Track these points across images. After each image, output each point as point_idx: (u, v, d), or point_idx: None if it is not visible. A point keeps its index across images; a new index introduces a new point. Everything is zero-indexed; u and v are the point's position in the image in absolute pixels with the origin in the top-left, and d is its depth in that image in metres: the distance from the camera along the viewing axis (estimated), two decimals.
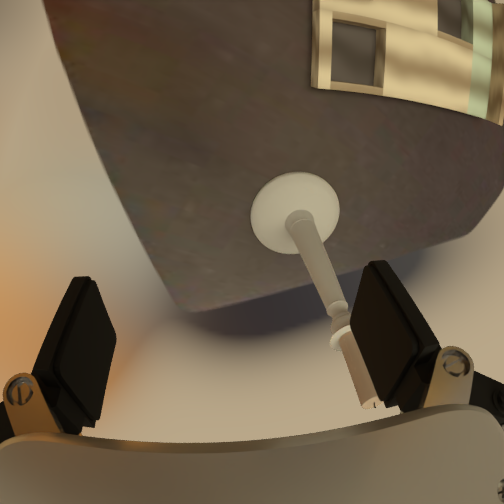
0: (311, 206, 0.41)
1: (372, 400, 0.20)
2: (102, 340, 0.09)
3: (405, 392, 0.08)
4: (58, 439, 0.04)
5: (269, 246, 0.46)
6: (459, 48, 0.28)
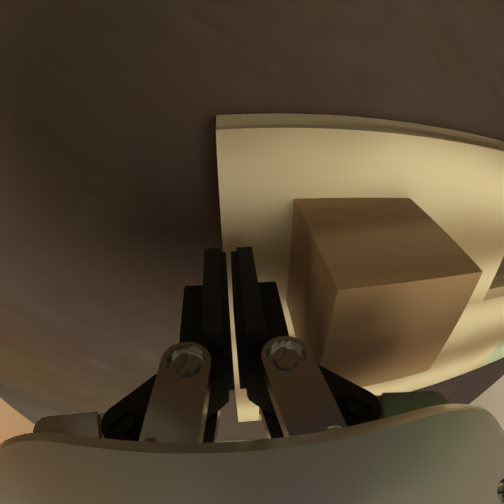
0: None
1: None
2: None
3: (247, 380, 0.08)
4: (58, 439, 0.04)
5: None
6: None
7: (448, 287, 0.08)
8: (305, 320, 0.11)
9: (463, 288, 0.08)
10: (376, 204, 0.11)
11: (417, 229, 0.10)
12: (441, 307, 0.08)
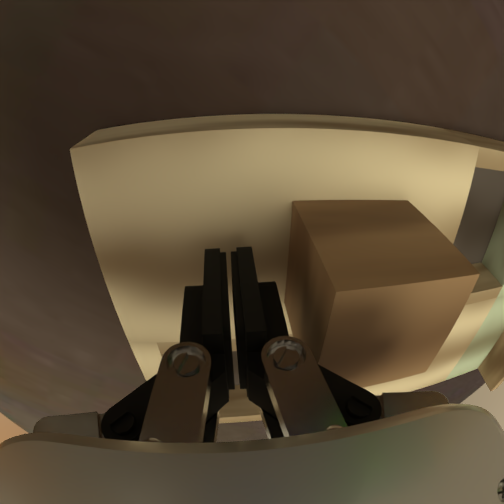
0: None
1: None
2: None
3: (247, 380, 0.08)
4: (58, 439, 0.04)
5: None
6: (469, 309, 0.17)
7: (445, 289, 0.08)
8: (303, 321, 0.11)
9: (460, 289, 0.08)
10: (374, 206, 0.11)
11: (415, 231, 0.10)
12: (439, 308, 0.08)
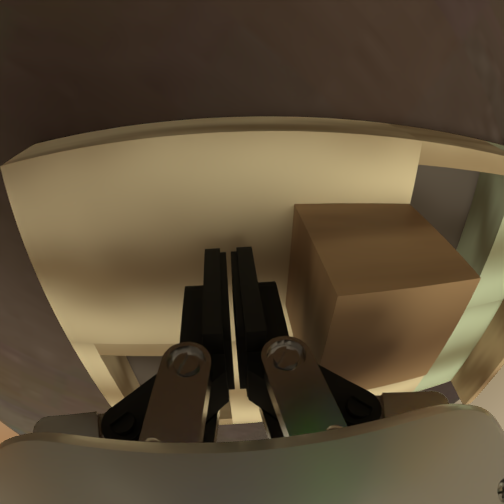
0: None
1: None
2: None
3: (247, 380, 0.08)
4: (58, 439, 0.04)
5: None
6: None
7: (446, 293, 0.08)
8: (304, 325, 0.11)
9: (461, 294, 0.08)
10: (375, 209, 0.11)
11: (416, 235, 0.10)
12: (440, 312, 0.08)
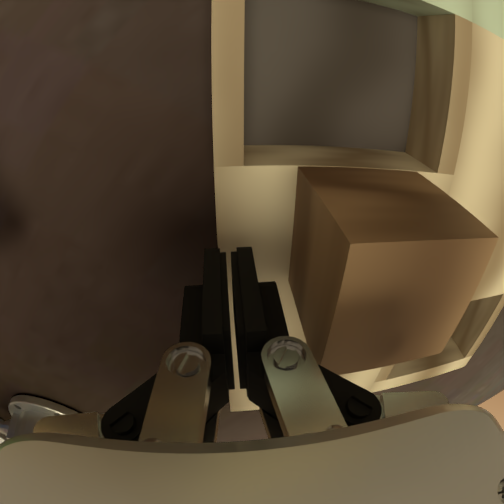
0: None
1: None
2: None
3: (247, 380, 0.08)
4: (58, 439, 0.04)
5: None
6: (477, 85, 0.09)
7: (355, 290, 0.07)
8: None
9: (366, 266, 0.07)
10: (297, 222, 0.11)
11: (313, 230, 0.09)
12: (385, 284, 0.07)
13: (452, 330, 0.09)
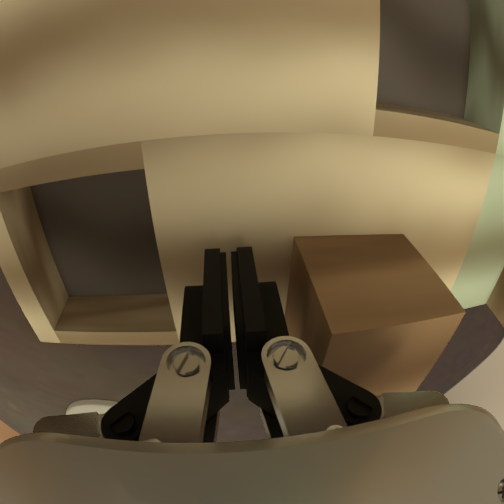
0: None
1: None
2: None
3: (247, 380, 0.08)
4: (58, 439, 0.04)
5: None
6: (454, 157, 0.11)
7: (432, 326, 0.09)
8: None
9: (446, 326, 0.09)
10: (370, 241, 0.12)
11: (407, 268, 0.11)
12: (426, 342, 0.09)
13: None
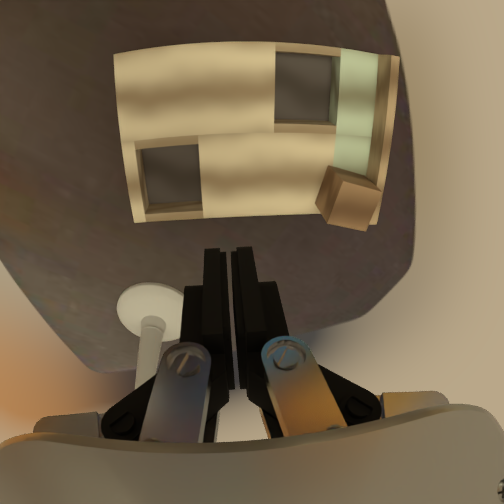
0: (160, 312, 0.45)
1: None
2: None
3: (247, 380, 0.08)
4: (58, 439, 0.04)
5: (139, 336, 0.50)
6: (311, 137, 0.33)
7: (371, 192, 0.31)
8: (327, 199, 0.34)
9: (375, 195, 0.32)
10: (352, 173, 0.35)
11: (364, 180, 0.33)
12: (369, 199, 0.32)
13: (337, 224, 0.33)
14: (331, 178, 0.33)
